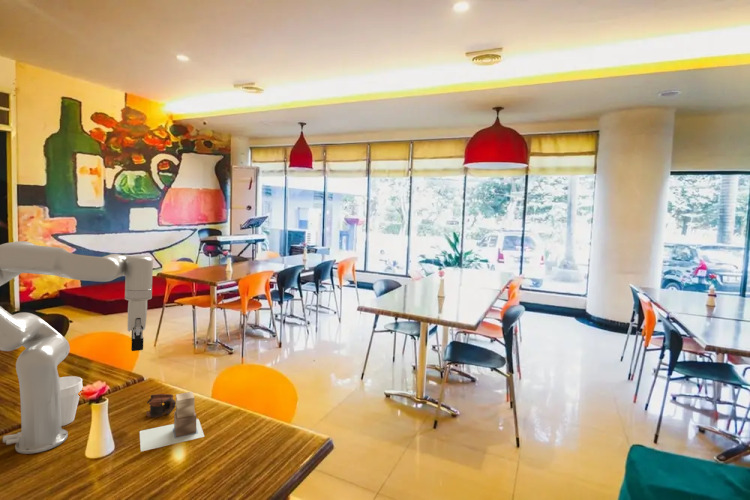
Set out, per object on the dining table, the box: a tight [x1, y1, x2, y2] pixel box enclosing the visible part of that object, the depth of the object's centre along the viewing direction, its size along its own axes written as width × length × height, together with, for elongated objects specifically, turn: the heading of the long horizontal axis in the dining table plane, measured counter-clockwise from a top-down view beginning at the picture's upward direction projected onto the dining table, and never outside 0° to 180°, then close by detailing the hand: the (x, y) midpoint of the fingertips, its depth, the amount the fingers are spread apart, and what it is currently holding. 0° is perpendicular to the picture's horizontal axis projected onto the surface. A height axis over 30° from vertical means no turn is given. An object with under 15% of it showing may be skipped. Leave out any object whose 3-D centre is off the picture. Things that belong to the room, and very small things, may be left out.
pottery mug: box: [146, 393, 176, 418], centre depth 146 cm, size 12×10×8 cm
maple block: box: [175, 391, 195, 418], centre depth 133 cm, size 5×5×6 cm
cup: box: [59, 375, 84, 427], centre depth 137 cm, size 12×12×14 cm
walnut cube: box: [173, 409, 197, 437], centre depth 134 cm, size 6×6×6 cm
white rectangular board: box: [139, 418, 205, 452], centre depth 132 cm, size 18×13×1 cm
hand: (137, 345), depth 132 cm, fingers open, 9 cm apart
